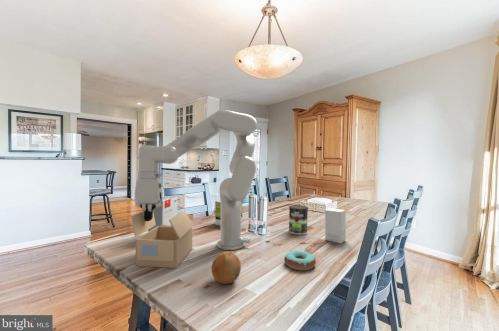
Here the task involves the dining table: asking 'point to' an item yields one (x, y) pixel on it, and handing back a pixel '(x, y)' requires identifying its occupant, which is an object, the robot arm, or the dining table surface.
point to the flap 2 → (181, 224)
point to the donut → (300, 260)
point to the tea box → (218, 212)
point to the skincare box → (335, 225)
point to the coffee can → (298, 219)
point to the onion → (226, 267)
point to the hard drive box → (165, 211)
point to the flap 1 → (141, 223)
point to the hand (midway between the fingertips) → (148, 220)
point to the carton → (162, 247)
